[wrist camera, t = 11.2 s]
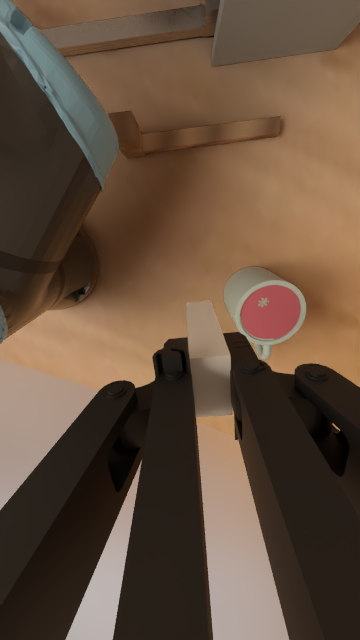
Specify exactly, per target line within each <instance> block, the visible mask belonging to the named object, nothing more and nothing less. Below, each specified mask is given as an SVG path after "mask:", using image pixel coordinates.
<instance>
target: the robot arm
mask: <svg viewBox="0 0 360 640" xmlns="http://www.w3.org/2000/svg"><path fill="white" fill-rule="evenodd" d="M118 151H119V142H118V136H117V133H116V131H115V128H114V126H113V123H112V122H111V120H110V118H109V116H108V115H107V113H106V111H105V110H104V108H103V107H102V106H101V104H100V103H99V101H98V100H97V98H96V97H95V96H94V94H93V93H92V92H91V90H90V89H89V88H88V86H87V85H86V84H85V82H84V81H83V80H82V79H81V77H80V76H79V75H78V74H77V72H76V71H75V70H74V69H73V67H72V66H71V65H70V64H69V63H68V61H67V60H66V59H65V58H64V57H63V55H62V54H61V53H60V52H59V51H58V50H57V48H56V47H55V46H54V45H53V44H52V43H51V42H50V41H49V39H48V38H47V37H46V36H45V35H44V34H43V33H42V32H41V31H40V30H39V29H38V28H37V27H34V26H32V24H31V22H30V21H29V20H28V18H27V17H26V16H25V15H24V14H23V13H22V12H21V11H20V10H19V8H18V7H17V6H16V5H15V4H14V3H13V1H12V0H0V344H1V343H2V342H3V340H5V339H6V338H7V337H9V336H10V335H12V334H13V333H15V332H16V331H17V330H19V329H20V328H22V327H23V326H25V325H26V324H28V323H29V322H31V321H32V320H34V319H35V318H36V317H38V316H39V315H41V314H42V313H44V312H45V311H47V310H60V309H65V308H69V307H71V306H74V305H76V304H77V303H79V302H80V301H82V300H83V299H84V298H85V297H86V296H88V295H89V293H90V292H91V291H92V289H93V288H94V286H95V284H96V281H97V278H98V272H99V262H98V256H97V253H96V250H95V247H94V245H93V243H92V241H91V239H90V238H89V236H88V235H87V234H86V232H85V231H84V230H83V229H82V228H81V225H82V224H83V222H84V220H85V218H86V216H87V215H88V213H89V211H90V209H91V207H92V205H93V204H94V202H95V200H96V198H97V196H98V194H99V193H100V191H103V190H104V188H105V180H106V178H107V176H108V174H109V172H110V170H111V168H112V166H113V164H114V162H115V160H116V158H117V155H118ZM186 312H187V332H188V337H187V338H176V339H169V340H168V341H167V342H166V343H165V344H164V348H163V349H161V350H158V351H157V352H156V353H154V355H153V363H154V369H155V375H156V377H155V380H154V381H153V382H151V383H150V384H147V385H145V386H142V387H138V388H135V386H134V384H133V383H131V382H129V381H125V380H124V381H115V382H112V383H110V384H108V385H106V386H104V387H103V388H102V389H101V390H100V391H99V392H98V393H97V394H96V395H95V397H94V398H93V399H92V400H91V401H90V403H89V404H88V405H87V406H86V408H85V409H84V410H83V411H82V412H81V414H80V415H79V416H78V417H77V418H76V420H75V421H74V422H73V423H72V424H71V426H70V427H69V428H68V429H67V431H66V432H65V433H64V434H63V435H62V437H61V438H60V439H59V440H58V441H57V443H56V444H55V445H54V446H53V447H52V449H51V450H50V451H49V452H48V454H47V455H46V456H45V457H44V458H43V460H42V461H41V462H40V463H39V464H38V466H37V467H36V468H35V469H34V470H33V472H32V473H31V474H30V475H29V476H28V478H27V479H26V480H25V481H24V483H23V484H22V485H21V486H20V487H19V488H18V490H17V491H16V492H15V493H14V495H13V496H12V497H11V498H10V499H9V501H8V502H7V503H6V504H5V505H4V507H3V508H2V509H1V510H0V640H65V639H66V637H67V634H68V632H69V630H70V627H71V625H72V623H73V620H74V618H75V615H76V613H77V611H78V608H79V606H80V604H81V601H82V599H83V597H84V594H85V592H86V590H87V587H88V585H89V582H90V580H91V578H92V575H93V573H94V570H95V568H96V566H97V563H98V561H99V559H100V557H101V554H102V552H103V550H104V547H105V545H106V542H107V540H108V538H109V536H110V533H111V531H112V528H113V526H114V523H115V521H116V519H117V516H118V514H119V512H120V510H121V507H122V505H123V502H124V500H125V498H126V496H127V493H128V491H129V488H130V486H131V484H132V481H133V479H134V476H135V474H136V472H137V469H138V467H139V465H140V462H141V460H142V464H141V470H140V476H139V482H138V488H137V494H136V501H135V507H134V513H133V519H132V525H131V532H130V538H129V544H128V550H127V556H126V562H125V569H124V575H123V581H122V587H121V593H120V599H119V605H118V612H117V618H116V624H115V630H114V636H113V640H213V632H212V619H211V606H210V593H209V581H208V568H207V554H206V542H205V528H204V515H203V502H202V490H201V476H200V464H199V450H198V436H197V425H196V417H208V416H221V415H232V407H233V411H234V419H235V440H239V443H240V448H241V451H242V455H243V459H244V463H245V467H246V471H247V475H248V479H249V483H250V486H251V491H252V495H253V498H254V502H255V506H256V510H257V514H258V518H259V522H260V526H261V530H262V534H263V538H264V542H265V546H266V549H267V553H268V557H269V561H270V565H271V569H272V573H273V577H274V581H275V585H276V589H277V592H278V596H279V600H280V604H281V608H282V612H283V616H284V620H285V624H286V628H287V632H288V636H289V640H360V387H358V386H357V385H355V384H354V383H352V382H351V381H349V380H348V379H346V378H345V377H343V376H342V375H340V374H339V373H337V372H336V371H334V370H332V369H330V368H328V367H326V366H323V365H319V364H302V365H300V366H298V367H297V368H296V369H295V374H294V375H293V374H283V373H277V372H274V371H272V370H271V368H270V366H269V365H268V364H267V363H265V362H263V361H261V360H259V359H258V358H257V356H256V354H255V352H254V350H253V348H252V347H251V345H250V343H249V341H248V339H247V338H246V336H245V335H243V334H241V333H240V332H233V333H222V330H221V328H220V325H219V322H218V319H217V317H216V314H215V311H214V308H213V305H212V303H211V300H209V301H199V302H188V303H186ZM332 423H333V424H335V425H336V426H337V427H338V428H339V429H340V431H339V430H338V429H336V428H335V427H334V426H333V425H332Z"/></svg>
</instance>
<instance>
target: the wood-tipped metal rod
mask: <svg viewBox="0 0 360 640" xmlns="http://www.w3.org/2000/svg"><path fill="white" fill-rule="evenodd" d="M219 6H220V0H201V5H199V6H192V7H185V8H179V9H172V10H166V11H159V12H153V13H146V14H139V15H133V16H126V17H120V18H113V19H106V20H100V21H93V22H87V23H80V24H73V25H67V26H60V27H54V28H47V29H41V30H40V31H41V32H42V33H43V34H44V35H45V36H46V37H47V38H48V39H49V41H50V42H51V43H52V44H53V45H54V46H55V47H56V48H57V50H58V51H59V52H60V53H61V54H62V55H63V56H69V55H76V54H83V53H89V52H96V51H103V50H110V49H117V48H124V47H130V46H137V45H144V44H151V43H158V42H165V41H171V40H178V39H185V38H192V37H199V36H203V37H207V36H213V35H214V34H215V29H216V23H217V17H218V12H219Z"/></svg>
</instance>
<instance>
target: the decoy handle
mask: <svg viewBox="0 0 360 640" xmlns="http://www.w3.org/2000/svg"><path fill="white" fill-rule="evenodd" d="M108 116H109V118H110V120H111V122H112V123H113V126H114V128H115V131H116V133H117V136H118V142H119V149H120V150H121V151H122V153H123V154H124V155H125V156H126V157H127V158H135V157H143V156H145V153H151V152H159V151H167V150H175V149H183V148H191V147H199V146H207V145H215V144H222V143H230V142H238V141H246V140H254V139H262V138H270V137H276V136H277V135H278V134H279V133H280V116H278V117H271V118H263V119H255V120H247V121H240V122H232V123H224V124H217V125H209V126H201V127H194V128H186V129H178V130H170V131H163V132H155V133H147V134H142V133H141V131H140V128H139V126H138V124H137V122H136V120H135V118H134V115H133V113H132V111H125V112H117V113H110V114H108Z"/></svg>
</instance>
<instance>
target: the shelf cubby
mask: <svg viewBox="0 0 360 640" xmlns="http://www.w3.org/2000/svg"><path fill="white" fill-rule="evenodd" d="M359 23H360V0H220V6H219V12H218V17H217V23H216V29H215V34H214V40H213V46H212V51H211V65H212V67H213V66H220V65H227V64H234V63H241V62H249V61H256V60H263V59H270V58H277V57H284V56H291V55H298V54H306V53H313V52H320V51H327V50H334V49H337V47H338V46H339V45H340V44H341V43H342V42H343V41H344V40H345V39H346V37H347V36H348V35H349V34H350V33H351V32H352V31H353V30H354V29H355V27H356V26H357V25H358V24H359Z"/></svg>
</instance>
